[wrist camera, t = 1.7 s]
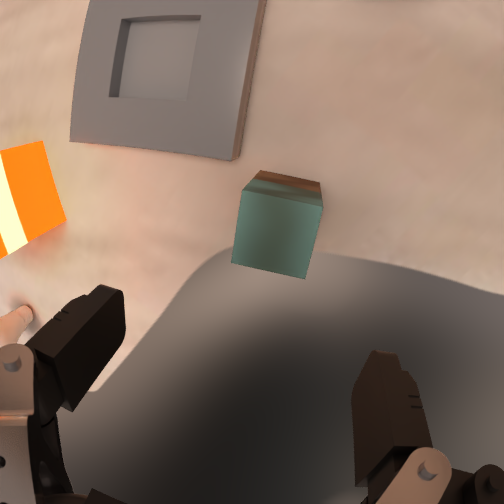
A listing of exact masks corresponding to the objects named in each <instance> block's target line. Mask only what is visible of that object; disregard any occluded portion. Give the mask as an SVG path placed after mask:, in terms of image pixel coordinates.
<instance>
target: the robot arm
mask: <svg viewBox="0 0 504 504" xmlns="http://www.w3.org/2000/svg"><path fill="white" fill-rule="evenodd" d="M125 332H126V324H125V310H124V295H123V292H122V291H121V290H118V289H115V288H112V287H108V286H105V285H102V284H101V285H98V286H97V287H96V288H95V289H94V290H93V291H92V292H91V293H90V294H88V295H82V296H80V297H78V298H75V299H73V300H71V301H70V302H69V303H68V304H67V305H65V306H64V307H63V308H62V309H61V312H60V311H59V312H58V313H57V314H56V315H55V316H54V318H53V319H52V318H51V319H50V320H49V321H48V322H47V323H46V324H45V325H44V326H43V327H42V328H41V329H40V330H39V331H38V332H37V333H36V334H35V335H34V336H33V337H32V338H31V339H30V340H29V341H28V342H27V343H26V344H25V345H22V344H17V343H13V344H8V345H5V346H2V347H1V348H0V504H127V503H124V502H122V501H119V500H117V499H115V498H112V497H110V496H108V495H106V494H103V493H101V492H99V491H97V490H95V489H93V488H92V489H91V491H90V493H89V495H82V494H74V491H73V487H72V484H71V481H70V479H69V477H68V474H67V472H66V469H65V465H64V460H63V455H62V448H61V441H60V434H59V427H58V418H57V414H56V412H57V411H58V409H59V408H60V407H64V408H65V409H67V410H69V411H71V412H73V411H74V410H75V408H76V407H77V405H78V404H79V402H80V401H81V399H82V398H83V397H84V395H85V394H86V393H87V391H88V390H89V388H90V387H91V385H92V384H93V383H94V381H95V380H96V379H97V377H98V376H99V374H100V373H101V372H102V370H103V369H104V367H105V366H106V365H107V363H108V362H109V361H110V359H111V358H112V357H113V355H114V354H115V352H116V351H117V350H118V348H119V347H120V346H121V344H122V342H123V340H124V337H125ZM419 397H420V394H419V391H418V387H417V384H416V382H415V381H414V379H413V378H412V377H411V375H410V374H409V372H408V371H403V370H401V366H400V362H399V359H398V356H397V354H396V353H390V352H384V351H378V350H373V351H372V352H371V353H370V355H369V357H368V359H367V361H366V363H365V365H364V367H363V369H362V371H361V373H360V375H359V377H358V379H357V380H356V382H355V384H354V387H353V391H352V396H351V406H352V422H353V439H354V463H355V487H368V495H367V496H366V497H365V498H364V500H363V501H362V502H361V503H360V504H504V471H503V470H502V469H501V468H499V467H498V466H495V465H492V464H488V465H485V466H483V467H481V468H480V469H479V470H478V471H476V472H475V473H474V474H472V473H468V472H464V471H461V470H457V469H453V468H451V465H450V462H449V461H448V459H447V458H446V456H445V455H444V454H443V453H441V452H440V451H438V450H436V449H433V446H432V441H431V437H430V433H429V429H428V425H427V421H426V417H425V413H424V409H422V407H423V406H422V402H421V399H420V398H419Z"/></svg>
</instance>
